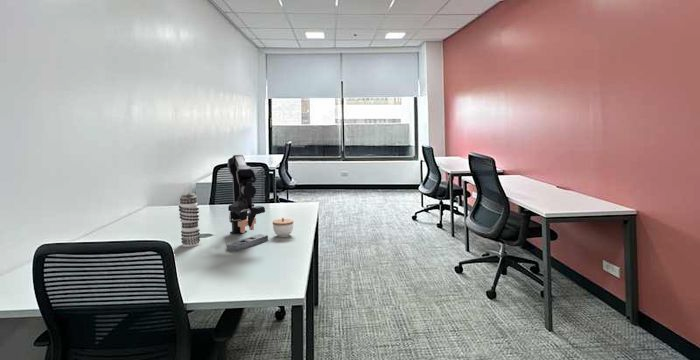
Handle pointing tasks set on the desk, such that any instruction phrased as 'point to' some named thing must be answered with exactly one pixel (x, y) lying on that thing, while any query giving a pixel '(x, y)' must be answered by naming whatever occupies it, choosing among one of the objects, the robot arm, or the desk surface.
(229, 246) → the rail
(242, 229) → the peach rectangular block
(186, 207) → the ribbed stacked tower
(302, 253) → the desk surface
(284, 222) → the lidded jar
